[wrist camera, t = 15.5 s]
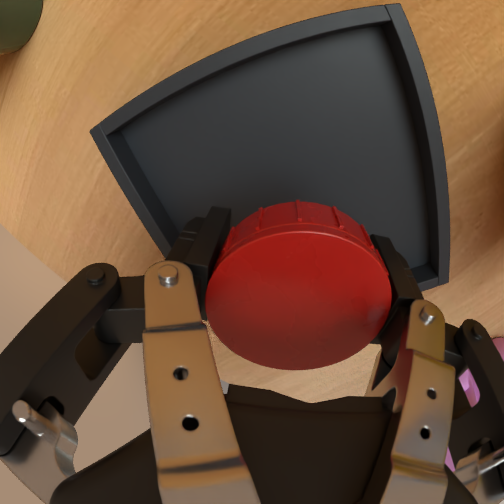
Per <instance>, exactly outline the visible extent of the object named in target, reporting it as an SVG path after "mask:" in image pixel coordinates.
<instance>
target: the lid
mask: <svg viewBox="0 0 504 504" xmlns="http://www.w3.org/2000/svg"><path fill="white" fill-rule="evenodd" d="M387 275H389V274H388V271H387V269H386V267H385V264H384V262H383V260H382V258H381V256H380V254H379V252H378V250H377V249H376V250H375V248H374V245H373V243H372V241H371V239H370V237H369V235H368V233H367V231H366V229H365V227H364V226H363V224H361V225H359V224H358V223H357V222H356V221H355V220H353V219H352V218H351V217H350V216H348V215H346V214H345V213H343V212H341V211H339V210H337V208H336V206H333V207H329V206H326V205H322V204H318V203H312V202H300V200H296V202H287V203H280V204H276V205H273V206H269V207H266V208H264V209H263V208H262V207H261V208H259V210H258V211H257V212H255V213H253V214H251V215H250V216H248V217H246V218H245V219H244V220H243V221H241V222H240V223H239V224H238V225H237V226H236V227H233V226H232V228H231V229H230V232H229V235H228V236H227V238H226V239H225V241H224V243H223V245H222V247H221V249H220V252H219V255H218V257H217V260H216V263H215V265H214V268H213V271H212V274H211V276H210V279H209V282H208V285H207V289H206V292H205V311H206V315H207V319H208V321H209V324H210V326H211V328H212V330H213V331H214V333H215V334H216V336H217V337H218V338H219V339H220V341H221V342H222V343H223V344H224V345H226V346H227V347H228V348H229V349H230V350H232V351H233V352H234V353H236V354H237V355H239V356H241V357H243V358H244V359H247V360H249V361H251V362H253V363H256V364H259V365H262V366H266V367H270V368H276V369H282V370H308V369H315V368H321V367H325V366H329V365H332V364H335V363H338V362H340V361H343V360H345V359H347V358H349V357H351V356H353V355H354V354H356V353H358V352H359V351H360V350H362V349H363V348H364V347H366V346H367V345H368V344H369V343H370V342H371V341H372V340H373V339H374V338H375V337H376V336H377V335H378V333H379V332H380V330H381V329H382V327H383V326H384V324H385V322H386V320H387V318H388V315H389V311H390V308H391V300H392V294H391V286H390V281H389V278H388V276H387Z"/></svg>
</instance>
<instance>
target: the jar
mask: <svg viewBox="0 0 504 504" xmlns="http://www.w3.org/2000/svg"><path fill="white" fill-rule="evenodd" d="M42 3H43V1H42V0H0V55H1V54H7V53H12V52H15V51H17V50H19V49H20V48H21V47H23V46H24V45H25V44H26V42H27V41H28V40H29V38H30V37H31V35H32V34H33V32H34V30H35V28H36V26H37V24H38V21H39V18H40V15H41V11H42Z"/></svg>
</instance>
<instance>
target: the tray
mask: <svg viewBox="0 0 504 504" xmlns="http://www.w3.org/2000/svg"><path fill="white" fill-rule="evenodd" d="M90 134H91V136H92V137H93V139H94V141H95V143H96V145H97V147H98V149H99V150H100V152H101V154H102V156H103V158H104V159H105V161H106V163H107V165H108V167H109V168H110V170H111V172H112V174H113V175H114V177H115V179H116V180H117V182H118V184H119V186H120V187H121V189H122V191H123V192H124V194H125V196H126V197H127V199H128V201H129V202H130V204H131V206H132V207H133V209H134V210H135V212H136V214H137V215H138V217H139V219H140V220H141V222H142V223H143V225H144V226H145V228H146V230H147V231H148V233H149V234H150V236H151V237H152V239H153V240H154V242H155V243H156V245H157V246H158V248H159V249H160V251H161V252H162V254H163V255H164V257H165V258H166V257H167V256H168V254H169V252H170V250H171V249H172V247H173V245H174V244H175V242H176V240H177V239H178V237H179V235H180V233H181V232H182V230H183V228H184V227H185V225H186V223H187V222H189V221H190V220H192V219H193V218H195V217H196V216H197V217H203V218H206V216H207V214H208V212H209V210H210V208H211V207H212V206H217V207H223V208H230V209H231V223H230V229H231V228H232V226H233V227H236V226H237V225H238V224H239V223H240V222H241V221H243V220H244V219H245V218H246V217H248V216H250V215H251V214H253V213H255V212H257V211H258V210H259V208H261V207H262V208H263V209H264V208H266V207H269V206H273V205H276V204H280V203H287V202H296V200H300V202H312V203H318V204H322V205H326V206H329V207H333V206H336V208H337V210H339V211H341V212H343V213H345V214H346V215H348V216H350V217H351V218H352V219H353V220H355V221H356V222H357V223H358V224H359V225H361V224H363V226H364V227H365V229H366V231H367V233H368V235H369V236H370V235H371V234H375V235H379V236H384V237H389V238H390V240H391V242H392V244H393V246H394V248H395V250H396V251H397V252H399V253H400V254H401V255H402V256H403V257H404V258H405V259H406V261H407V263H408V265H409V267H410V271H412V273H413V276H414V278H415V280H416V282H417V284H418V287H419V289H420V291H421V292H422V291H425V290H428V289H431V288H434V287H437V286H440V285H443V284H446V283H448V282H449V266H450V210H449V194H448V182H447V172H446V164H445V156H444V149H443V143H442V137H441V131H440V126H439V121H438V116H437V111H436V107H435V103H434V99H433V95H432V91H431V87H430V83H429V80H428V76H427V73H426V70H425V66H424V63H423V60H422V57H421V54H420V51H419V48H418V46H417V43H416V40H415V38H414V35H413V32H412V30H411V27H410V25H409V23H408V20H407V18H406V15H405V13H404V11H403V9H402V7H401V4H400V3H396V4H386V5H377V6H370V7H363V8H357V9H351V10H346V11H341V12H336V13H331V14H327V15H323V16H319V17H315V18H311V19H307V20H303V21H300V22H296V23H293V24H290V25H286V26H283V27H280V28H277V29H274V30H271V31H268V32H266V33H263V34H260V35H257V36H255V37H252V38H249V39H247V40H244V41H242V42H239V43H237V44H235V45H232V46H230V47H228V48H225V49H223V50H221V51H219V52H216V53H214V54H212V55H210V56H208V57H206V58H204V59H202V60H200V61H198V62H196V63H194V64H192V65H190V66H188V67H186V68H184V69H182V70H180V71H179V72H177V73H175V74H173V75H171V76H170V77H168V78H166V79H164V80H163V81H161V82H159V83H158V84H156V85H154V86H153V87H151V88H149V89H148V90H146V91H145V92H143V93H142V94H140V95H138V96H137V97H135V98H134V99H132V100H131V101H129V102H128V103H126V104H125V105H124V106H122V107H121V108H119V109H118V110H116V111H115V112H114V113H112V114H111V115H109V116H108V117H107V118H105V119H104V120H103V121H101V122H100V123H99V124H98V125H96V126H95V127H94V128H92V129H91V130H90Z"/></svg>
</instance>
